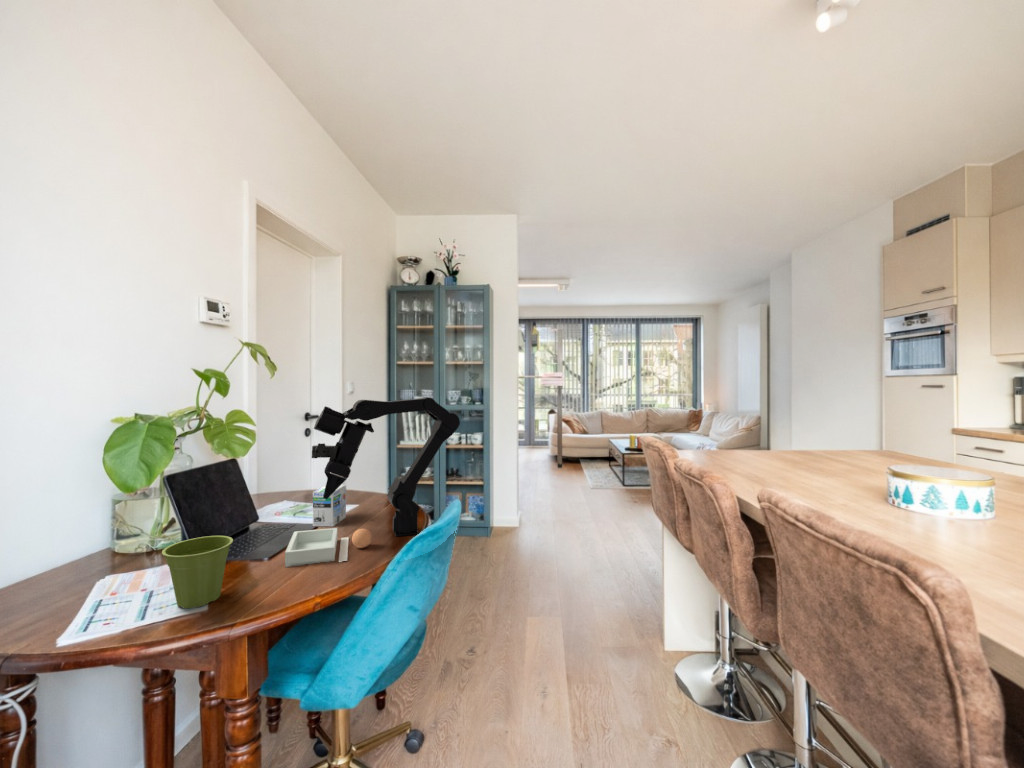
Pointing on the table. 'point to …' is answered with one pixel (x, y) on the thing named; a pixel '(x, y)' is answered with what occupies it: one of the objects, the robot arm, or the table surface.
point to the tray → (311, 547)
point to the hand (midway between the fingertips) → (326, 495)
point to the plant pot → (197, 569)
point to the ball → (361, 538)
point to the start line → (343, 549)
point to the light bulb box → (329, 507)
